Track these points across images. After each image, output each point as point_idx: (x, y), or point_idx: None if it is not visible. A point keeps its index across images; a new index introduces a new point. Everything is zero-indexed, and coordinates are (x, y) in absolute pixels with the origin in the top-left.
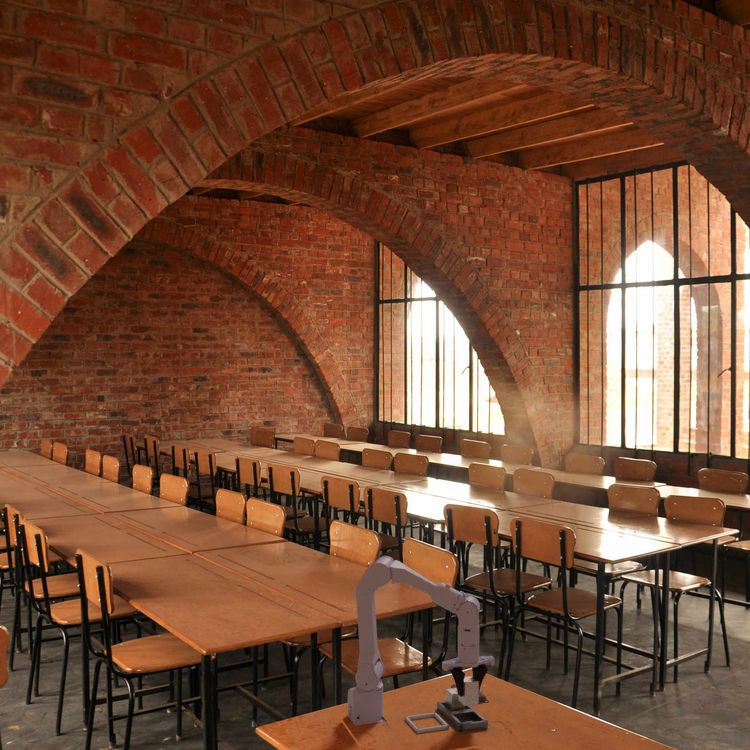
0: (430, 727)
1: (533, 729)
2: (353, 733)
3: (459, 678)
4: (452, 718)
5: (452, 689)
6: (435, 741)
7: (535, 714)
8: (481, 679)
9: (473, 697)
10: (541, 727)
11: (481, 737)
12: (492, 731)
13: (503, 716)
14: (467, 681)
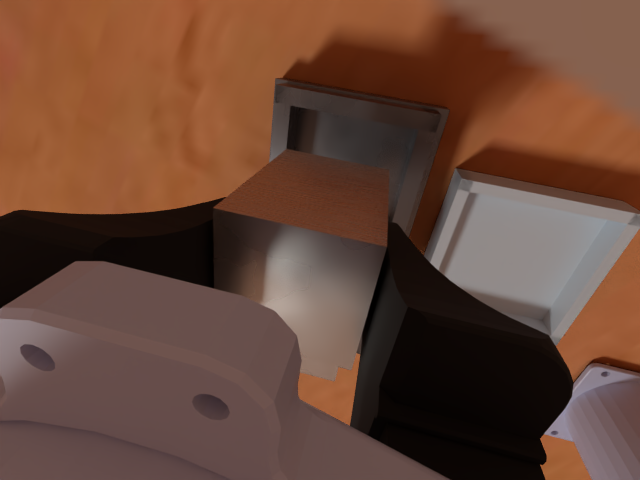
0: (559, 207)
1: (81, 4)
2: None
3: (473, 304)
4: (408, 217)
5: (310, 364)
6: (584, 123)
7: (36, 139)
8: (167, 216)
9: (313, 170)
10: (40, 7)
11: (350, 47)
12: (265, 83)
13: (158, 186)
14: (330, 265)
